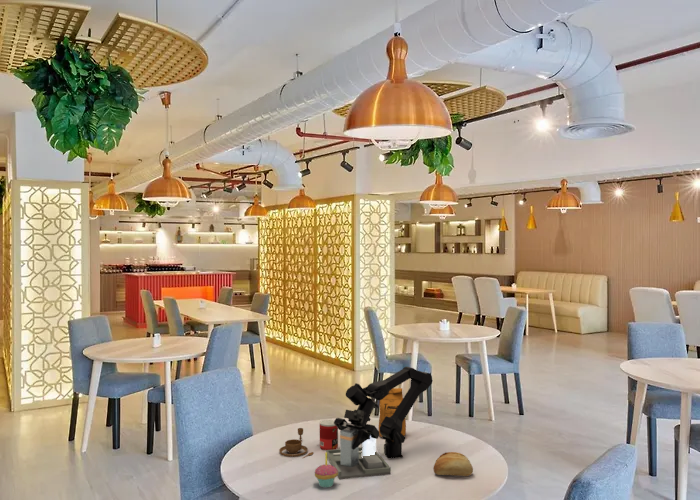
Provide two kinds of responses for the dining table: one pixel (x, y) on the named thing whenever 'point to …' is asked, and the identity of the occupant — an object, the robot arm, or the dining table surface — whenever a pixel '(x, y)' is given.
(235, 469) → the dining table surface
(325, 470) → the cupcake
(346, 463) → the block
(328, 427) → the canned food
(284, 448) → the place setting
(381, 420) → the coffee package
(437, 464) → the bread roll
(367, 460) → the case
